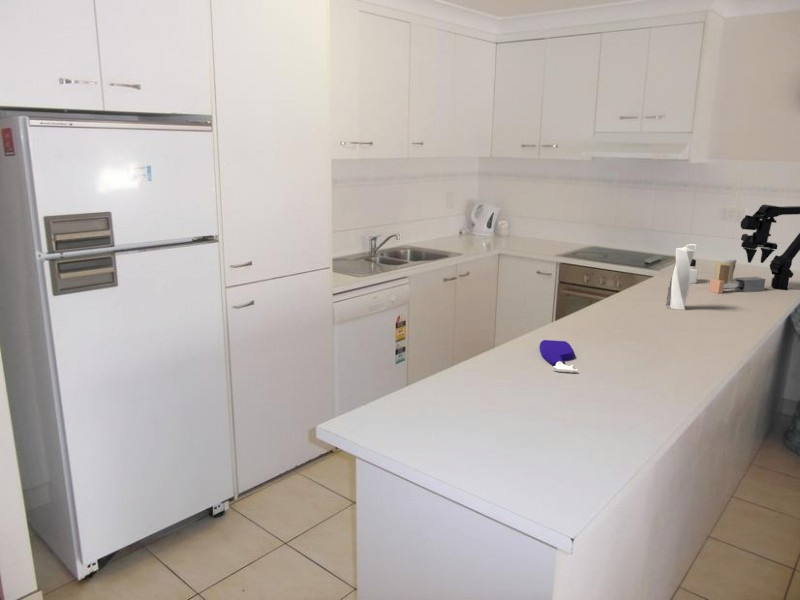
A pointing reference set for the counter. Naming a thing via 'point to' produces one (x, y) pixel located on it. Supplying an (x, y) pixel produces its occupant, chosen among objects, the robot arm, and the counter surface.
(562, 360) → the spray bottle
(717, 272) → the coffee cup
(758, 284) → the steel block
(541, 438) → the counter surface
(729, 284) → the brown and silver piece
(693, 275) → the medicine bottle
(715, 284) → the socket block
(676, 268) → the skyscraper
